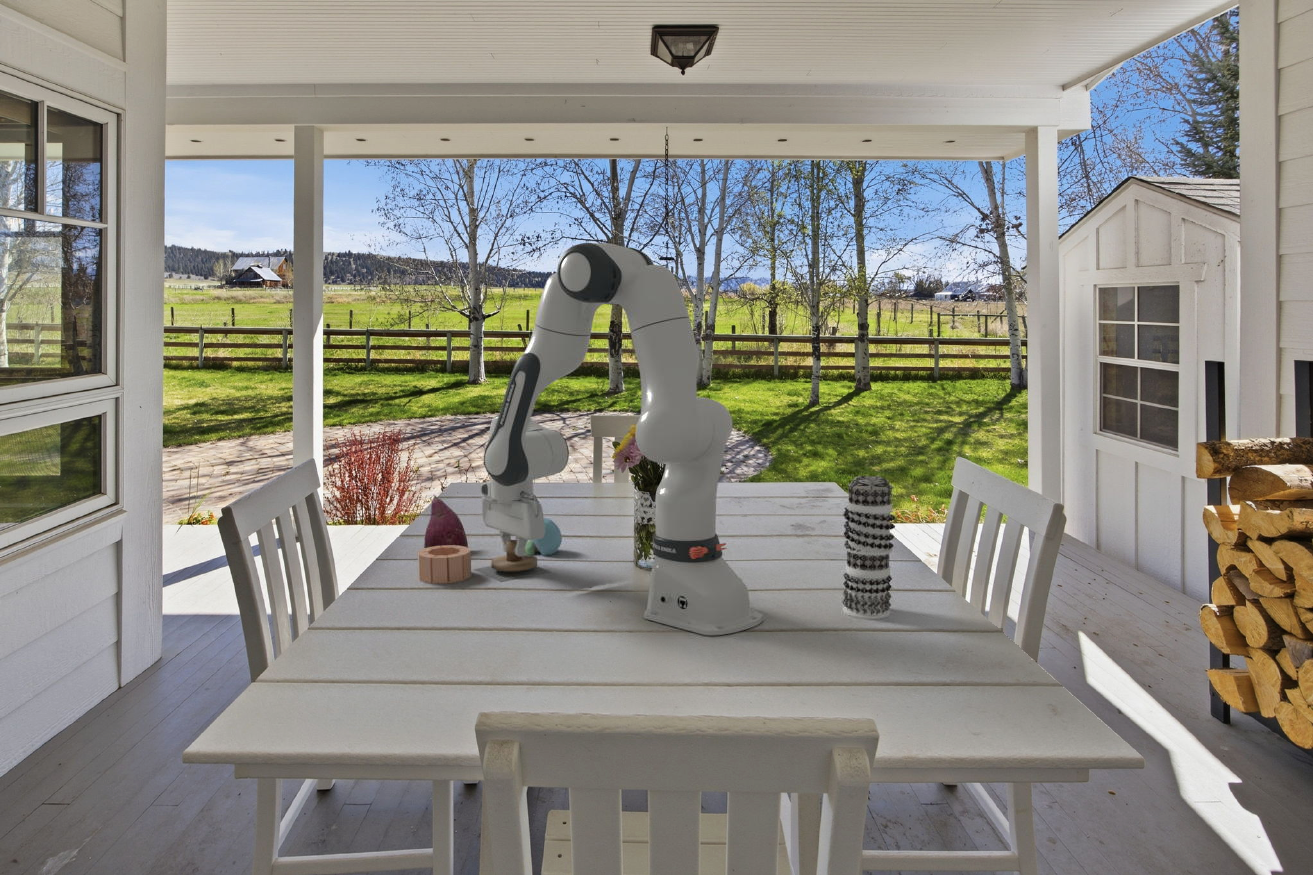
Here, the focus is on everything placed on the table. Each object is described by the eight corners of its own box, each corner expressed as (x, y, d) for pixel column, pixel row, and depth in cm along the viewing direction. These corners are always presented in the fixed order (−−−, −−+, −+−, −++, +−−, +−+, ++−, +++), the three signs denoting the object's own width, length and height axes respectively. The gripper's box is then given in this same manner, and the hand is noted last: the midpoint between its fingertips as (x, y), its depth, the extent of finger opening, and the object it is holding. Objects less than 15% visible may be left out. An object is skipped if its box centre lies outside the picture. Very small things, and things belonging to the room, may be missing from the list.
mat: (551, 575, 188) (551, 571, 188) (501, 585, 180) (501, 581, 180) (522, 563, 197) (522, 560, 197) (473, 572, 190) (473, 569, 190)
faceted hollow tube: (480, 580, 184) (479, 552, 183) (431, 590, 177) (430, 560, 176) (457, 569, 192) (456, 542, 191) (409, 578, 185) (408, 550, 184)
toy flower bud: (509, 517, 207) (561, 513, 206) (513, 554, 208) (564, 551, 207) (503, 524, 200) (557, 520, 199) (507, 562, 201) (560, 559, 200)
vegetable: (418, 569, 205) (397, 507, 203) (448, 553, 213) (428, 494, 212) (451, 564, 199) (430, 500, 198) (480, 548, 208) (460, 487, 206)
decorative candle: (831, 613, 163) (835, 478, 160) (854, 601, 170) (858, 472, 167) (878, 623, 158) (883, 484, 154) (900, 610, 165) (904, 477, 162)
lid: (546, 565, 188) (545, 541, 187) (505, 573, 182) (504, 548, 181) (522, 557, 195) (521, 534, 194) (483, 565, 189) (482, 540, 188)
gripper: (551, 493, 180) (553, 560, 182) (501, 481, 196) (503, 543, 198) (524, 497, 177) (526, 565, 178) (475, 485, 192) (478, 547, 194)
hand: (514, 553), depth 188 cm, fingers closed on lid, 3 cm apart
